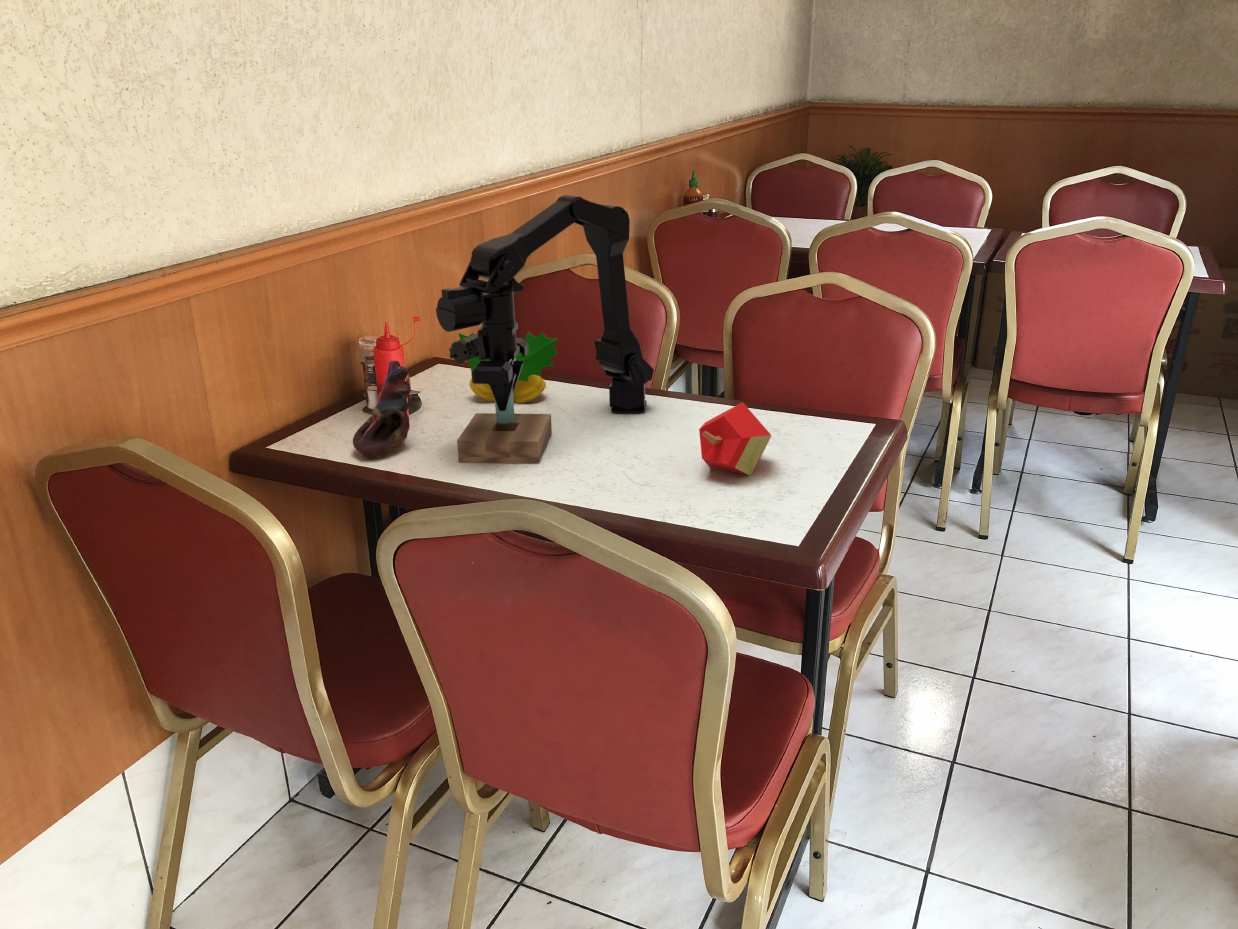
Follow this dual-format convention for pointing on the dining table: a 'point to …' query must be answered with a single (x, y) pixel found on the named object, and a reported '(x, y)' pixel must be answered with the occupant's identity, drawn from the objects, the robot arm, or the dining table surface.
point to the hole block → (505, 439)
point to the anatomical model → (386, 417)
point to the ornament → (523, 369)
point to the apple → (733, 440)
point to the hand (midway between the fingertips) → (504, 407)
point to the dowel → (506, 412)
